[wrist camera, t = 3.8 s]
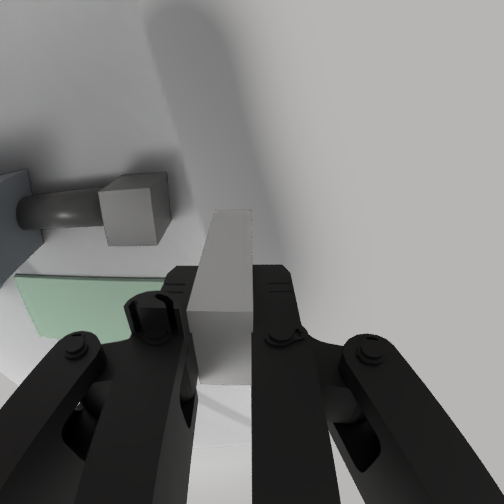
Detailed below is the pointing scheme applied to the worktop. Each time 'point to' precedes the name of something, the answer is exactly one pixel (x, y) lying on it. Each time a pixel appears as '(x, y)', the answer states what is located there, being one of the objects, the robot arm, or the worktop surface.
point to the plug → (80, 214)
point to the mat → (81, 304)
